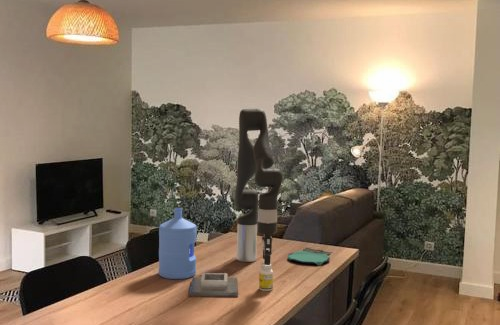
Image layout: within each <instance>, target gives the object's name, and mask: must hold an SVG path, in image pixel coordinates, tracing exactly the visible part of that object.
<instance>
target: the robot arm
mask: <svg viewBox="0 0 500 325" xmlns="http://www.w3.org/2000/svg"><path fill="white" fill-rule="evenodd" d="M267 121H268V120H267V115H266V112H265V110H264V109H262V108H244V109H241V110H240V111H239V117H238V132H239V134H238V136H239V137H238V138H239V139H238V143H239V144H238V153H237V154H238V155H237V171H236V172H237V173H236V174H237V176H236V185H235V194H234V206H235V208H236V209H238V210H249V212H247V213H246V214H242V215H240V216H238V217H237V233H236V234H237V235H236V237H237V238H236V239H237V240H236V261H238V262H242V263H243V262H245V263H249V262H250V263H251V262H255V261H257V248H258V247H257V246H258V242H257V241H258V240H257V238H258V233H259V234H261V235H262V236H261V246H262V247H261V248H262V259H263V260H264V261H263V263H264V264H265V265H270V264H271V256H272V254H273V253H272V249H273V237H272V236H271V235H274V234H276V233H277V232H278V210H277V209H278V197H279V192H280V189H281V186H282V183H283V173H282V171H281V170H280V168H271V167H273V165H274V158H273V154H272V150H271V146H270V138H269V129H268V122H267ZM251 131H252V132H253V131H254V132H256V131H259V136H258V137H257V139H256V141H255V143H254V144H253V143H252V142H251V140H250V139H249V136H248V132H251ZM253 177H254V182H255V184H256V185H257V187H260V188H270V189H269V190H268V191H266V192H263V193H262V192H261V193H260V194H259V191H258V190H257V189H248V188H247V189H245V187H246V185H247V184H248V183H249V181H250V180H251V179H252V178H253Z"/></svg>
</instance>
